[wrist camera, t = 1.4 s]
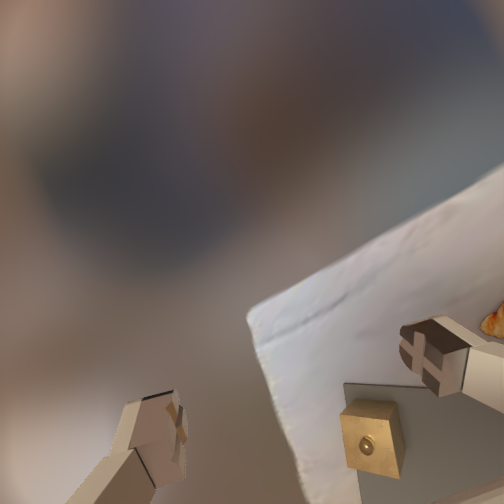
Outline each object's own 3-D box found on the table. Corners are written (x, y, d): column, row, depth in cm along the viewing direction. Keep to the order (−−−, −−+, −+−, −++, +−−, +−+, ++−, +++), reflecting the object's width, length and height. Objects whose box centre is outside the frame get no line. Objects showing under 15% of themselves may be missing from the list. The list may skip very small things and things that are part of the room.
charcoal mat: (515, 392, 32) (517, 394, 31) (593, 635, 26) (597, 643, 25) (344, 382, 43) (343, 384, 42) (371, 550, 37) (369, 554, 36)
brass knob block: (396, 402, 38) (387, 423, 31) (406, 449, 36) (398, 483, 29) (354, 398, 41) (337, 417, 34) (361, 441, 39) (345, 471, 32)
